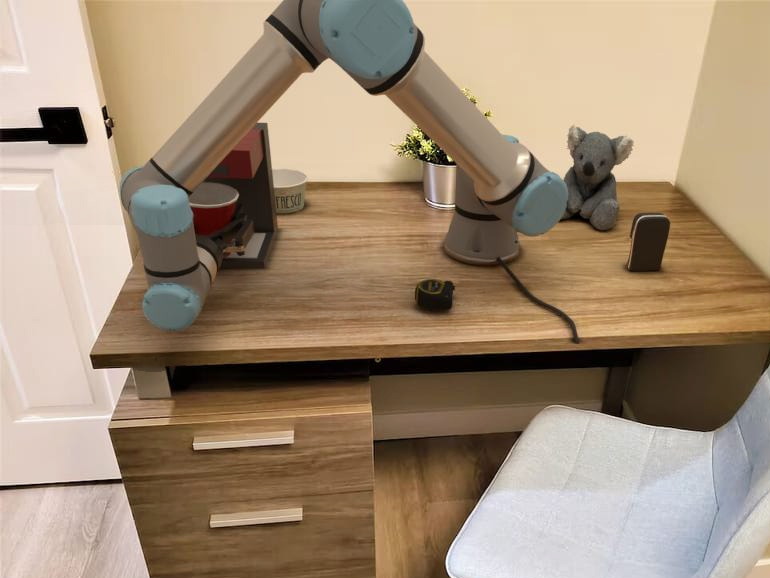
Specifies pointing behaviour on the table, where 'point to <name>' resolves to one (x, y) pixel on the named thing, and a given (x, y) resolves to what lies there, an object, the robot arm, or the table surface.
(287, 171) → the food container
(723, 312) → the table surface
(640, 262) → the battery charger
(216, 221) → the plastic cup
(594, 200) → the koala plush
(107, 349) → the table surface
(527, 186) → the robot arm
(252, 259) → the coffee maker
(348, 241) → the table surface
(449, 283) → the tape measure
